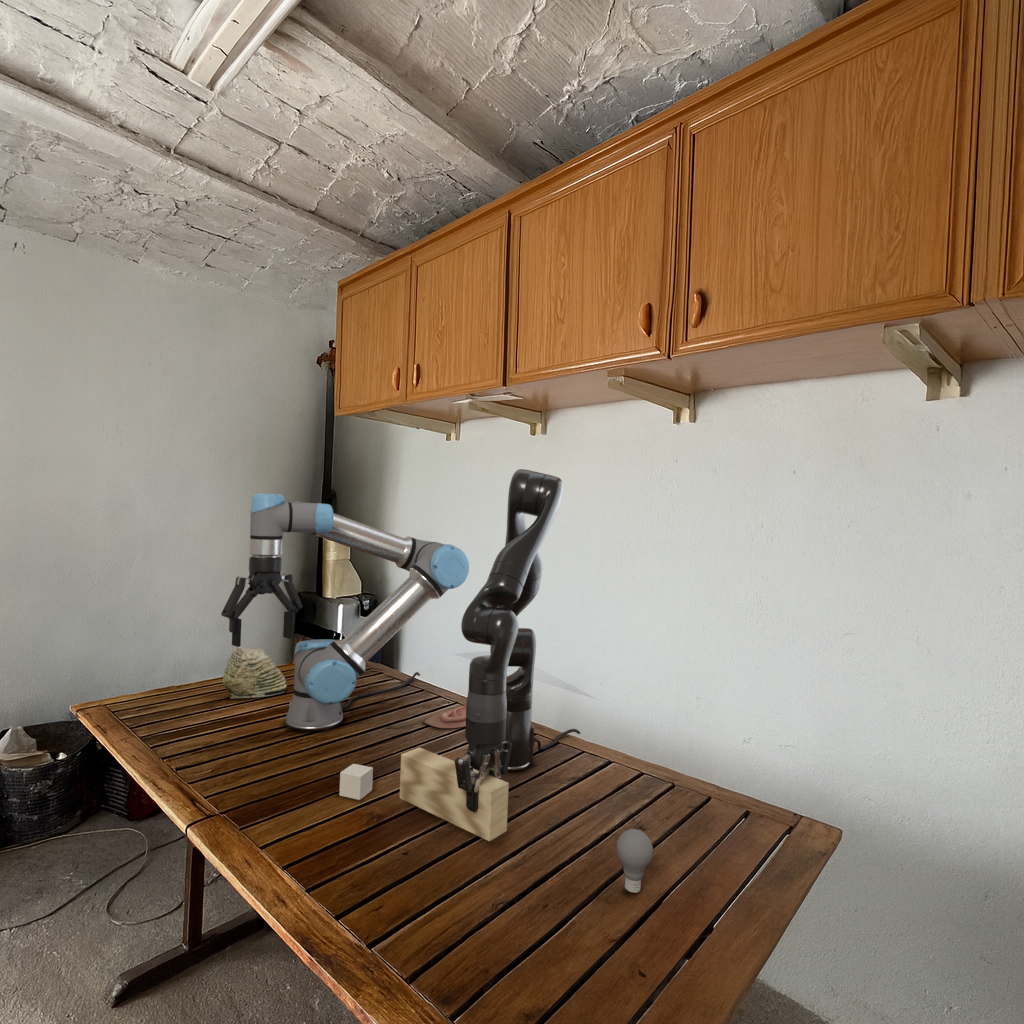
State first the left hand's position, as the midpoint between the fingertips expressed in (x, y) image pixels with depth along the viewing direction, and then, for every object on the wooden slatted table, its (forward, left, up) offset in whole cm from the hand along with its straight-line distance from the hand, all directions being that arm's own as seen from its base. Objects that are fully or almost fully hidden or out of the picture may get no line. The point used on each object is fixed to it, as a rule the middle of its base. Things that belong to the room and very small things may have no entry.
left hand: (262, 641), depth 157 cm
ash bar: (-5, +61, -24) cm, 66 cm away
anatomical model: (-47, +20, -27) cm, 58 cm away
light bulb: (-12, +97, -27) cm, 101 cm away
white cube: (-2, +36, -27) cm, 45 cm away
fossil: (-21, -39, -27) cm, 52 cm away
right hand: (-5, +69, -19) cm, 72 cm away
